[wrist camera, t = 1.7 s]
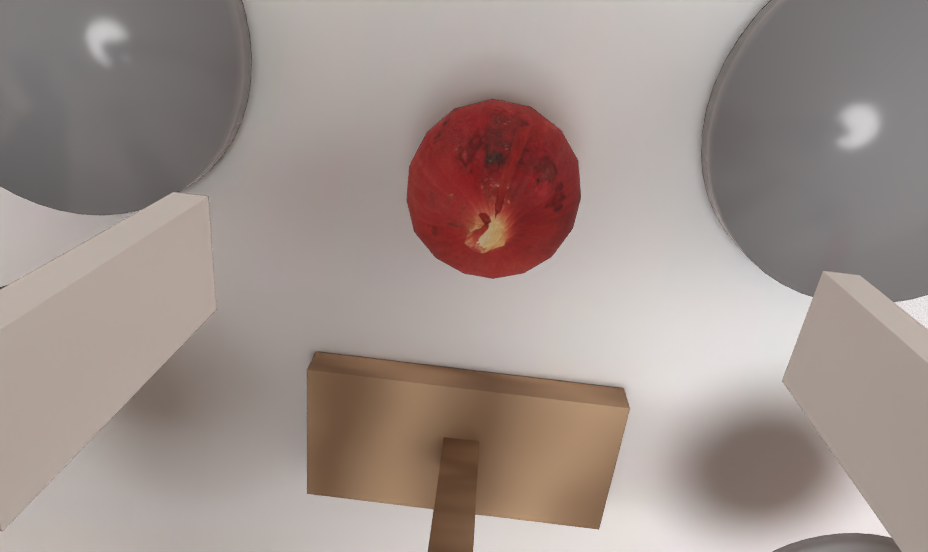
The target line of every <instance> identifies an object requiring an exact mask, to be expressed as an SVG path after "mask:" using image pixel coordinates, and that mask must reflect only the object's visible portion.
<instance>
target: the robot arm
mask: <svg viewBox="0 0 928 552" xmlns="http://www.w3.org/2000/svg"><path fill="white" fill-rule="evenodd" d="M215 311H216V296H215V282H214V268H213V254H212V241H211V227H210V213H209V199H208V196H201V195H193V194H185V193H177V192H173V193H171V194H169V195H167V196H166V197H164V198H162V199H160V200H159V201H157V202H155V203H153V204H151V205H150V206H148V207H146V208H144V209H143V210H141V211H139V212H137V213H135V214H134V215H132V216H130V217H128V218H127V219H125V220H123V221H121V222H119V223H118V224H116V225H114V226H112V227H111V228H109V229H107V230H105V231H103V232H102V233H100V234H98V235H96V236H95V237H93V238H91V239H89V240H87V241H86V242H84V243H82V244H80V245H79V246H77V247H75V248H73V249H71V250H70V251H68V252H66V253H64V254H63V255H61V256H59V257H57V258H55V259H54V260H52V261H50V262H48V263H47V264H45V265H43V266H41V267H39V268H38V269H36V270H34V271H32V272H31V273H29V274H27V275H25V276H23V277H22V278H20V279H18V280H16V281H15V282H13V283H11V284H9V285H6V286H3V287H0V531H3V530H4V529H5V528H6V527H7V526H8V525H9V524H10V523H11V522H12V521H13V520H14V519H15V518H16V517H17V516H18V515H19V514H20V513H21V512H22V511H23V510H24V509H25V508H26V507H27V506H28V504H29V503H30V502H31V501H32V500H33V499H34V498H35V497H36V496H37V495H38V494H39V493H40V492H41V491H42V490H43V489H44V488H45V487H46V486H47V485H48V484H49V483H50V482H51V481H52V480H53V479H54V478H55V476H56V475H57V474H58V473H59V472H60V471H61V470H62V469H63V468H64V467H65V466H66V465H67V464H68V463H69V462H70V461H71V460H72V459H73V458H74V457H75V456H76V455H77V454H78V453H79V452H80V451H81V450H82V448H83V447H84V446H85V445H86V444H87V443H88V442H89V441H90V440H91V439H92V438H93V437H94V436H95V435H96V434H97V433H98V432H99V431H100V430H101V429H102V428H103V427H104V426H105V425H106V424H107V423H108V422H109V420H110V419H111V418H112V417H113V416H114V415H115V414H116V413H117V412H118V411H119V410H120V409H121V408H122V407H123V406H124V405H125V404H126V403H127V402H128V401H129V400H130V399H131V398H132V397H133V396H134V395H135V394H136V392H137V391H138V390H139V389H140V388H141V387H142V386H143V385H144V384H145V383H146V382H147V381H148V380H149V379H150V378H151V377H152V376H153V375H154V374H155V373H156V372H157V371H158V370H159V369H160V368H161V367H162V366H163V364H164V363H165V362H166V361H167V360H168V359H169V358H170V357H171V356H172V355H173V354H174V353H175V352H176V351H177V350H178V349H179V348H180V347H181V346H182V345H183V344H184V343H185V342H186V341H187V340H188V339H189V338H190V336H191V335H192V334H193V333H194V332H195V331H196V330H197V329H198V328H199V327H200V326H201V325H202V324H203V323H204V322H205V321H206V320H207V319H208V318H209V317H210V316H211V315H212V314H213V313H214V312H215ZM782 382H783V383H784V384H785V386H786V387H787V389H788V390H789V392H790V393H791V394H792V396H793V397H794V399H795V400H796V402H797V403H798V404H799V406H800V407H801V409H802V410H803V412H804V413H805V414H806V416H807V417H808V419H809V420H810V422H811V423H812V424H813V426H814V427H815V429H816V430H817V432H818V433H819V434H820V436H821V437H822V439H823V440H824V442H825V443H826V444H827V446H828V447H829V449H830V450H831V452H832V453H833V454H834V456H835V457H836V459H837V460H838V462H839V463H840V464H841V466H842V467H843V469H844V470H845V472H846V473H847V474H848V476H849V477H850V479H851V480H852V482H853V483H854V484H855V486H856V487H857V489H858V490H859V492H860V493H861V494H862V496H863V497H864V499H865V500H866V502H867V503H868V504H869V506H870V507H871V509H872V510H873V512H874V513H875V514H876V516H877V517H878V519H879V520H880V521H881V523H882V524H883V526H884V527H885V529H886V530H887V531H888V533H889V534H890V536H891V537H892V539H893V540H894V541H895V543H896V544H897V546H898V547H899V549H900V550H901V551H902V552H928V329H927V328H925V327H924V326H923V325H922V324H920V323H919V322H918V321H917V320H915V319H914V318H913V317H911V316H910V315H909V314H908V313H906V312H905V311H904V310H903V309H901V308H900V307H899V306H898V305H896V304H895V303H894V302H893V301H891V300H890V299H889V298H888V297H886V296H885V295H884V294H883V293H881V292H880V291H879V290H878V289H876V288H875V287H874V286H873V285H871V284H870V283H869V282H868V281H866V280H865V279H864V278H863V277H861V276H860V275H853V274H845V273H837V272H828V271H823V272H822V275H821V278H820V280H819V283H818V286H817V288H816V291H815V294H814V296H813V299H812V302H811V305H810V307H809V310H808V313H807V315H806V318H805V321H804V323H803V326H802V329H801V331H800V334H799V337H798V339H797V342H796V345H795V347H794V350H793V353H792V356H791V358H790V361H789V364H788V366H787V369H786V372H785V374H784V377H783V380H782Z"/></svg>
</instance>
